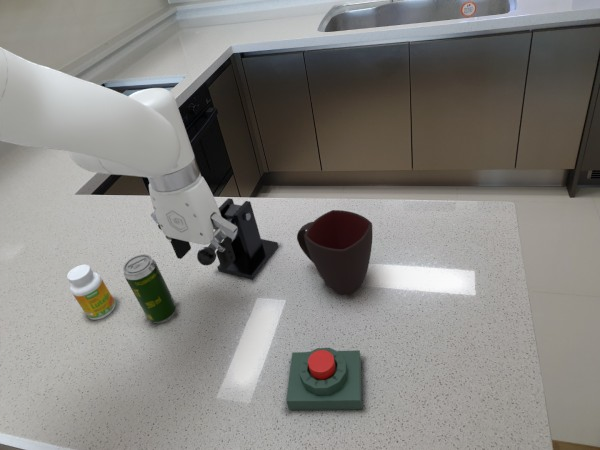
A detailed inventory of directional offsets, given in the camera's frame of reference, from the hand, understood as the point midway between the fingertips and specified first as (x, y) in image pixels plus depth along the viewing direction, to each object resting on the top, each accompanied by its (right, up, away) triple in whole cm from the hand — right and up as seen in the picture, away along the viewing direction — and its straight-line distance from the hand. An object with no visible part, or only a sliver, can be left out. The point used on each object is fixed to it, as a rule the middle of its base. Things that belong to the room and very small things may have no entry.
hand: (206, 258), depth 79 cm
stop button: (+19, -14, -15) cm, 28 cm away
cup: (+23, -4, +4) cm, 23 cm away
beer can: (-9, -10, +4) cm, 14 cm away
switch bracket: (+6, -1, +12) cm, 13 cm away
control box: (+20, -17, -13) cm, 29 cm away
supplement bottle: (-21, -10, +8) cm, 25 cm away
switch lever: (+2, +3, +4) cm, 5 cm away
